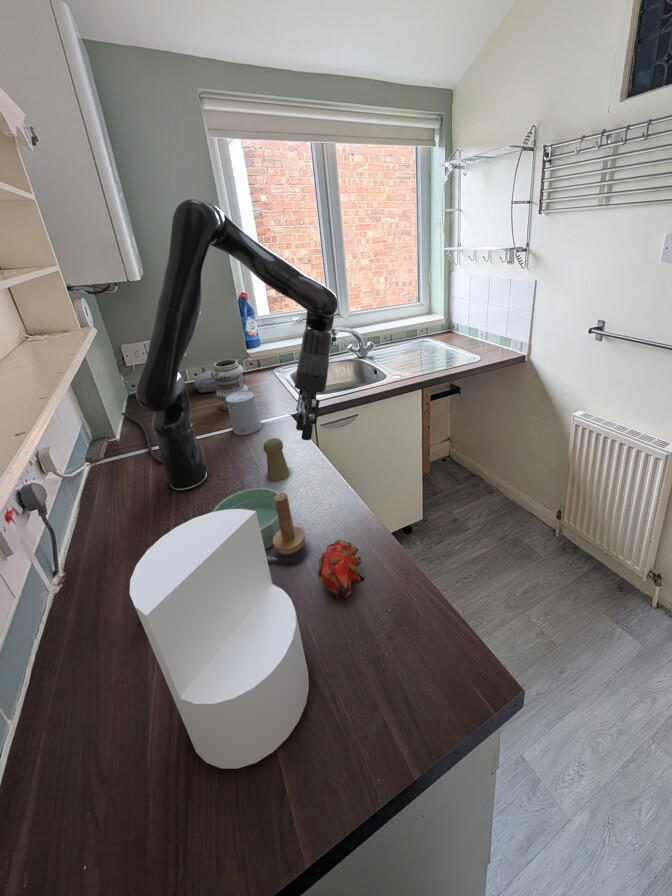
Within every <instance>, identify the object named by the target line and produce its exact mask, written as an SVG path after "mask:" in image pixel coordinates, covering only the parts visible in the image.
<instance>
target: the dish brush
mask: <svg viewBox="0 0 672 896" xmlns="http://www.w3.org/2000/svg"><path fill="white" fill-rule="evenodd" d="M278 493H279V494H277V495H276V496H275V497H274V500H275V505H276V510H277V515H278V520H279V525H280V530H279V531H278V532H277V533H276V534H275V535H274V537H273V545H272V547H273V549H274V552H275V558H276V559H277V560H278V561H277V560H276V561H277V562H278V563H279V564H280V565H282V566H286V567H287V566H293V565H296V564H299V563H301V561H303V560H304V559H305V557H306V556H307V553H308V550H307V549H308V547H307V543H306V535H305V530H303V528H301V527H300V526H297V525H294V523H293V518H292V512H291V507H290V503H289V502H290V501H289V495H288V494H287V493H286V492H278Z"/></svg>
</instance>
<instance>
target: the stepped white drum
mask: <svg viewBox="0 0 672 896" xmlns="http://www.w3.org/2000/svg"><path fill="white" fill-rule="evenodd" d="M266 553H267V552H266V550H265V549H264V544H263V540H262V535H261V531H260V527H259V522H258V518H257V513H256V511H252V510H246V509H226V510H221V511H216V512H212V511H211V512H208V513H205V514H202V515H200V516H197V517H193V518H191V519H189V520H187V521H186V522H183V523H181V524H179V525H178V526H176V527H174V528H173V529H171V530H169V532H167V533H165V534H164V535H163V536H161V537H160V538H159V539H158V540H157V541H155V542H154V543H153V545H151V546H150V547H149V548H148V549H147V550H146V551H145V553H144V554H143V555H142V556H141V558H140V559H139V560H138V562H137V563H136V565H135V567H134V570H133V571H132V575H131V577H130V579H129V596H130V599H131V600H132V603H133V606H134V608H135V611H136V613H137V615H138V617H139V620H140V622H141V625H142V627H143V629H144V632H145V634H146V637H147V639H148V642H149V644H150V647H151V648H152V651H153V653H154V656H155V658H156V660H157V663H158V665H159V668H160V670H161V672H162V675H163V677H164V680H165V682H166V684H167V687H168V689H169V692H170V695H171V696H172V699H173V701H174V704H175V706H176V708H177V710H178V713H179V715H180V718H181V720H182V722H183V724H184V727H185V729H186V732H187V734H188V737H189V739H190V741H191V744H192V747H193V749H194V750H195V753H196V754H197V755H198V756H199V757H200V758H201V759H202V760H203V761H204V762H205V763H206V764H209V765H210V766H214V767H216V768H218V769H240V768H244V767H247V766H250V765H253V764H256V763H258V762H259V761H261V760H263V759H264V758H266V757H267V756H269V755H271V754H272V753H274V751H276V750H277V749H278V748H279V747H280V746H281V745H282V744H283V743H284V741H286V740H287V739H288V738H289V737H290V735H291V734H292V733H293V731H294V729H295V727H296V726H297V724H298V723H299V722H300V719H301V718H302V715H303V712H304V710H305V707H306V706H307V701H308V694H309V690H310V682H309V680H310V679H309V670H308V666H307V665H308V664H307V661H306V656H305V651H304V646H303V641H302V635H301V631H300V627H299V621H298V617H297V611H296V608H295V605H294V603H293V600H292V598H291V597H290V596H289V595H288V594H287V592H285V590H284V589H282V588H281V587H279V586H277V585H275V584H274V583H273V580H272V575H271V570H270V567H269V563H268V561H267V557H266V556H267V554H266Z"/></svg>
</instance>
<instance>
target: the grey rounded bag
mask: <svg viewBox="0 0 672 896" xmlns="http://www.w3.org/2000/svg"><path fill="white" fill-rule="evenodd" d="M212 371H213V369H209V370H206V371H204V372H202V373H200V374H199V375H197V376H196V378H195V379H194V382H193V385H194V386H195V388H196V389H197V392H198V393H216V391H217V389H218V388H217V383H216V380H215V379H213V378H212V376H211V372H212ZM242 380H243V378H242Z"/></svg>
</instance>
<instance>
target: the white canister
mask: <svg viewBox="0 0 672 896" xmlns="http://www.w3.org/2000/svg"><path fill="white" fill-rule="evenodd" d="M226 402H227V406H228V410H227V411H228V415H229V419H230V422H231V427H232V432H233V433H234V434H235V435H236V436H237V435H238V436H245V435H251V434H254V433H256V432H257V431H259V430H260V429H261V428H262V423H261V417H260V412H259V409H258V408H259V407H258V402H257V397H256V393H255V391H253V390H248V391H238V392H235V393H232V394H230V395H228V396H227V397H226Z"/></svg>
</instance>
